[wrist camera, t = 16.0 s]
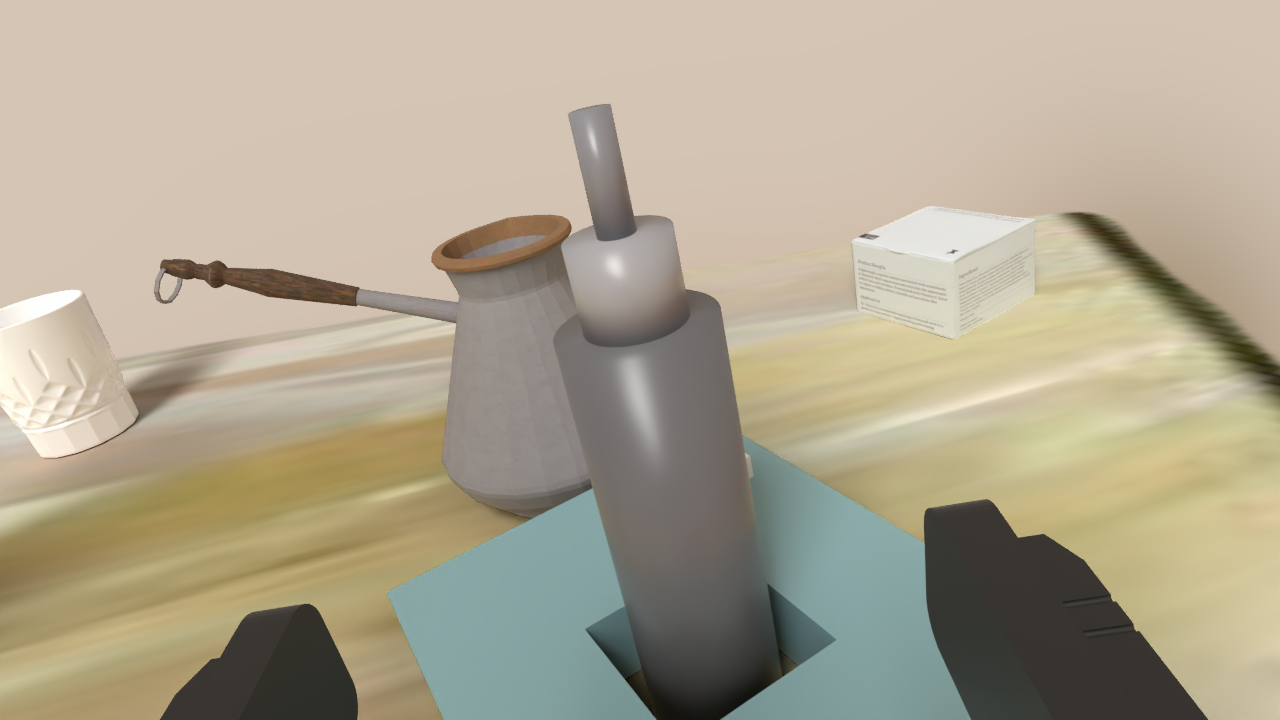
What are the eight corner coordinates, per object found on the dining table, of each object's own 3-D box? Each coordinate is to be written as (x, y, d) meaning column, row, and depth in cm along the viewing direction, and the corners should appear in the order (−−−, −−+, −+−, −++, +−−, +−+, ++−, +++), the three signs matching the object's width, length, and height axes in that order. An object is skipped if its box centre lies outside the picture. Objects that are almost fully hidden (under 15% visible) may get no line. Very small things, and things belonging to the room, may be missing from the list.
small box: (1039, 297, 48) (1041, 216, 46) (954, 344, 45) (952, 260, 43) (934, 273, 55) (931, 202, 53) (853, 313, 51) (846, 239, 49)
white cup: (48, 429, 61) (-24, 312, 57) (156, 396, 63) (95, 280, 59) (14, 477, 54) (-70, 348, 50) (136, 438, 56) (65, 310, 52)
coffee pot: (667, 398, 46) (613, 140, 39) (687, 518, 35) (618, 194, 29) (315, 468, 47) (206, 227, 40) (233, 605, 36) (70, 310, 30)
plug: (631, 696, 27) (469, 130, 19) (732, 631, 29) (624, 86, 21) (703, 789, 24) (542, 139, 15) (814, 708, 25) (722, 86, 17)
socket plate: (411, 649, 31) (377, 572, 30) (731, 476, 38) (718, 404, 36) (687, 1259, 15) (647, 1165, 13) (1173, 775, 21) (1188, 669, 20)
